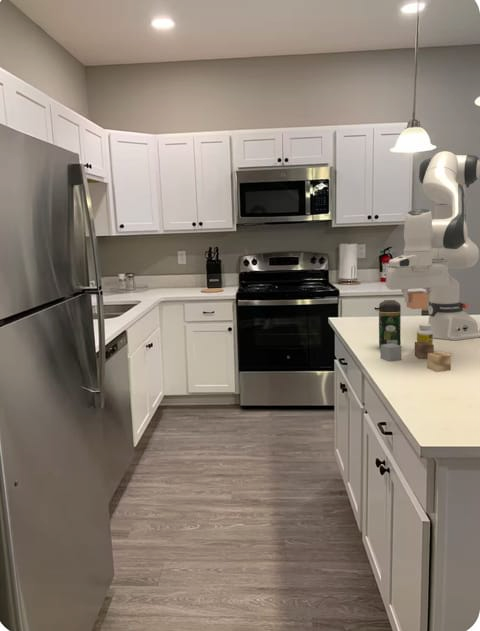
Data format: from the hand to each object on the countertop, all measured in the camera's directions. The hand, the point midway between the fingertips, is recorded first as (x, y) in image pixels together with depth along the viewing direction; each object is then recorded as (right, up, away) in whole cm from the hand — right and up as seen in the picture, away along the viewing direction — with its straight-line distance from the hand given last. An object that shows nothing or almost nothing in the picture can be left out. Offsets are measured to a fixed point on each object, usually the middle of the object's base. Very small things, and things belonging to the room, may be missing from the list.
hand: (417, 301), depth 161 cm
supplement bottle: (+10, -18, +19) cm, 28 cm away
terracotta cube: (0, -2, 0) cm, 2 cm away
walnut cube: (+6, -19, +11) cm, 23 cm away
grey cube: (-6, -20, +10) cm, 23 cm away
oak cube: (+6, -22, -4) cm, 23 cm away
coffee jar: (-2, -17, +24) cm, 30 cm away
